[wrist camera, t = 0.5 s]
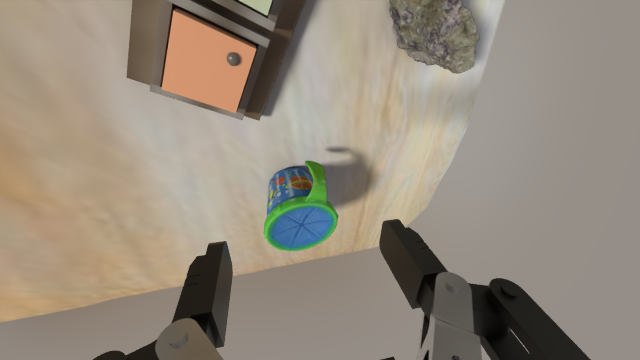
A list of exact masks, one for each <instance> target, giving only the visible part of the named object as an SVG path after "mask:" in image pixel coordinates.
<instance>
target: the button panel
mask: <svg viewBox="0 0 640 360" xmlns="http://www.w3.org/2000/svg"><path fill="white" fill-rule="evenodd" d="M304 3H305V0H272V3H271V6H270V9H269V12H268V15H265V14H263V13H261V12H259V11H258V10H256V9H254V8H252V7H250V6H248V5H247V4H245V3H243V2H241V1H239V0H133V1H132V14H131V28H130V41H129V54H128V67H127V78H130V79H133V80H136V81H139V82H142V83H145V84H148V85H150V91H151V92H154V93H158V94H161V95H164V96H167V97H170V98H173V99H177V100H180V101H183V102H186V103H189V104H193V105H196V106H199V107H202V108H205V109H208V110H212V111H215V112H218V113H221V114H224V115H227V116H231V117H234V118H237V119H240V120H243V117H244V116H247V117H250V118H253V119H256V120H260V117H261V115H262V112H263V110H264V107H265V104H266V102H267V99H268V97H269V94H270V91H271V89H272V86H273V84H274V81H275V78H276V76H277V73H278V70H279V68H280V65H281V63H282V60H283V57H284V55H285V52H286V50H287V47H288V44H289V42H290V39H291V37H292V34H293V31H294V29H295V26H296V24H297V21H298V18H299V16H300V13H301V10H302V8H303V5H304ZM176 8H179V9H181V10H183V11H186V12H188V13H190V14H192V15H194V16H196V17H198V18H200V19H202V20H205V21H207V22H209V23H211V24H213V25H215V26H217V27H219V28H221V29H224V30H226V31H228V32H230V33H232V34H234V35H236V36H238V37H240V38H243V39H245V40H247V41H249V42H251V43H253V44H255V46H256V52H255V55H254V58H253V61H252V64H251V67H250V70H249V74H248V77H247V80H246V83H245V86H244V89H243V92H242V95H241V98H240V101H239V104H238V107H237V111H236V113H233V112H230V111H227V110H224V109H221V108H218V107H215V106H211V105H208V104H205V103H202V102H199V101H196V100H193V99H190V98H187V97H184V96H181V95H178V94H174V93H171V92H168V91H165V90H162V83H163V76H164V70H165V63H166V56H167V50H168V43H169V37H170V30H171V23H172V17H173V11H174V10H175V9H176Z"/></svg>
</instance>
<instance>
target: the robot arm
mask: <svg viewBox="0 0 640 360" xmlns="http://www.w3.org/2000/svg"><path fill="white" fill-rule="evenodd" d="M379 244H380V250H381V253H382V255H383V257H384V259H385V260H386V262H387V264H388V266H389V267H390V269H391V271H392V273H393V275H394V277H395V278H396V280H397V282H398V284H399V286H400V287H401V289H402V291H403V293H404V295H405V296H406V298H407V300H408V302H409V304H410V305H411V307H412V309H415V308H420V307H421V308H422V310H423V312H424V313H423V317H422V324H421V332H420V341H419V349H418V355H417V360H482V356H481V345H482V346H483V348H484V349H485V351H486V352H487V354H488V356H489V357H490V359H491V360H590V359H589V358H588V357H587V356H586V354H585V353H583V352H582V350H581V349H580V348H579V347H578V346H577V345H576V344H575V343H574V342H573V341H572V340H571V339H570V338H569V337H568V336H567V335H566V334H565V333H564V332H563V331H562V330H561V329H560V328H559V326H558V325H557V324H556V323H555V322H554V321H553V320H552V319H551V318H550V317H549V316H548V315H547V314H546V313H545V312H544V311H543V310H542V309H541V308H540V307H539V306H538V305H537V304H536V303H535V302H534V300H533V299H532V298H531V297H530V296H529V295H528V294H527V293H526V292H525V291H524V290H523V289H521V287H519V286H518V285H517V284H515V283H513V282H511V281H509V280H506V279H502V278H496V279H493V280H492V281H491V282H490V284H489V286H484V285H477V284H470V283H467V282H466V281H465V280H464V279H463V278H462V277H460V276H459V275H457V274H454V273H451V272H448V271H447V270H446V268H445V267H444V266H443V265H442V263H441V262H440V261H439V260H438V258H437V257H436V256H435V255H434V253H433V252H432V251H431V250H430V249H429V247H428V246H427V245H426V243H425V242H424V241H423V239H422V238H421V237H420V236H419V234H418V233H416V232H415V231H413V230H412V229H411V228H409V227H408V228H405V227H404V225H403V224H402V223H401V221H400V220H399V219H394V220H387V221H384V222H383V224H382V230H381V236H380V242H379ZM232 275H233V269H232V262H231V258H230V254H229V250H228V246H227V242H226V241H223V242H216V243H209V245H208V248H207V252H206V255H203V256H197V257H196V259H195V260H194V261H193V262H192V264H191V265H190V267H189V270H188V273H187V278H186V280H185V283H184V287H183V289H182V292H181V296H180V299H179V302H178V305H177V308H176V311H175V315H174V318H173V321H172V323H171V324H170V325H169V326H168V327H166V328H165V329H164V330H163V332H162V333H161V334H160V336H159V337H158V339H157V340H155V341H154V342H152V343H151V344H149V345H147V346H144V347H142V348H140V349H138V350H136V351H135V352H132V353H130V354H128V355H125V354H124V353H123V352H120V351H109V352H106V353H104V354H101V355H100V356H98V357H96V358H95V359H93V360H223V358H222V357H221V355H220V354H219V352H218V351H217V350H216V348H219V347H223V346H224V341H225V333H226V325H227V317H228V309H229V300H230V292H231V284H232ZM511 330H512V331H513V332H514V333H515V335H516V336H517V337H518V339H519V340H520V341H521V342H522V343H523V345H524V346H525V347H526V349H527V350H528V351H529V353H530V354H529V353H528V352H527V351H526V349H525V348H524V347H523V346H522V344H521V343H520V342H519V340H518V339H517V338H516V337H515V335H514V334H513V333H512V332H511ZM382 360H395V359H394V357H391V358H386V359H382Z"/></svg>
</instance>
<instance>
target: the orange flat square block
mask: <svg viewBox="0 0 640 360" xmlns="http://www.w3.org/2000/svg"><path fill="white" fill-rule="evenodd" d="M255 52H256V46H255V44H253V43H251V42H249V41H247V40H245V39H243V38H240V37H238V36H236V35H234V34H232V33H230V32H228V31H226V30H224V29H221V28H219V27H217V26H215V25H213V24H211V23H209V22H207V21H205V20H202V19H200V18H198V17H196V16H194V15H192V14H190V13H188V12H186V11H183V10H181V9H179V8H176V9H175V10H174V11H173V17H172V23H171V30H170V37H169V43H168V50H167V56H166V63H165V70H164V76H163V83H162V90H165V91H168V92H171V93H174V94H178V95H181V96H184V97H187V98H190V99H193V100H196V101H199V102H202V103H205V104H208V105H211V106H215V107H218V108H221V109H224V110H227V111H230V112H233V113H236V111H237V107H238V104H239V101H240V98H241V95H242V92H243V89H244V86H245V83H246V80H247V77H248V74H249V70H250V67H251V64H252V61H253V58H254V55H255Z"/></svg>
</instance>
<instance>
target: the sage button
mask: <svg viewBox="0 0 640 360" xmlns="http://www.w3.org/2000/svg"><path fill="white" fill-rule="evenodd" d="M239 1H241V2H243V3H245V4H247V5H248V6H250V7H252V8H254V9H256V10H258V11H259V12H261V13H263V14H265V15H268V12H269V9H270V6H271V3H272V0H239Z"/></svg>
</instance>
